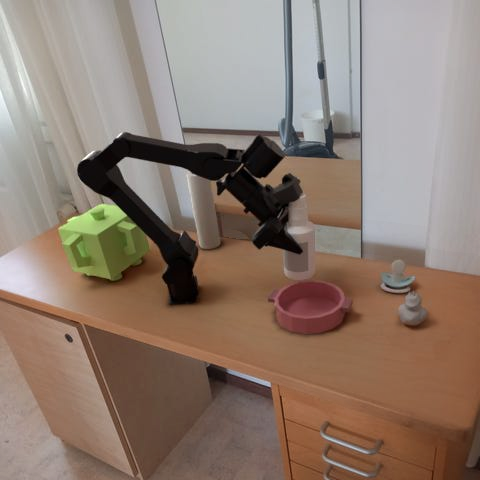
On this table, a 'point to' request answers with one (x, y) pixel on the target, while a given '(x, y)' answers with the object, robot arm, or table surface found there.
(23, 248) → the table surface
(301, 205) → the spray bottle
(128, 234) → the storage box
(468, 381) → the table surface
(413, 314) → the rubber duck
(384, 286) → the pacifier
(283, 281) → the table surface
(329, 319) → the pot
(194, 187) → the paper towel roll
